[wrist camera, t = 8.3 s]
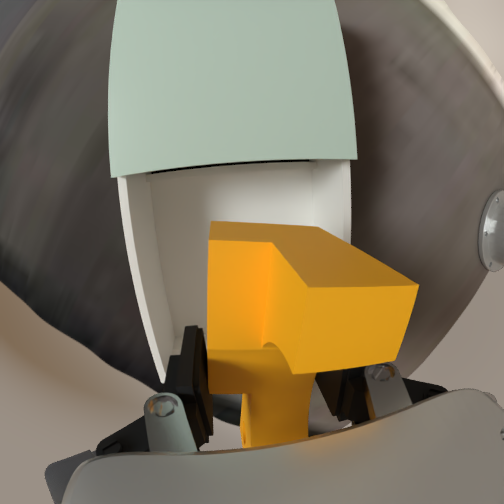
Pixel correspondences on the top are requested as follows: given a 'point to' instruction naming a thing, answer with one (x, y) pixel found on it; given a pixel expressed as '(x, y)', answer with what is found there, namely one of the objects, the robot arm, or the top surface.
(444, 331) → the top surface
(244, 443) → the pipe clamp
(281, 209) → the housing
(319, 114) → the lid
